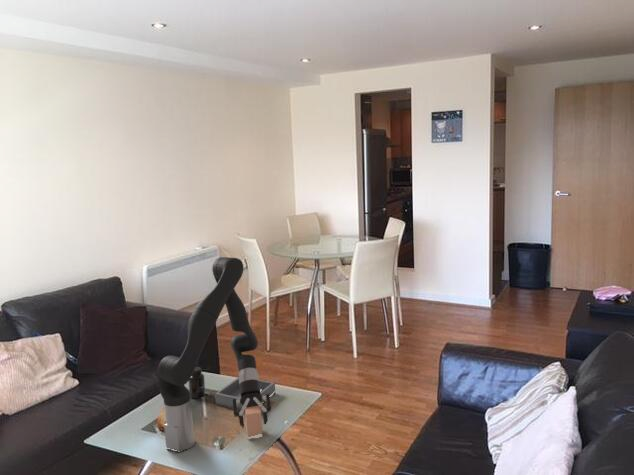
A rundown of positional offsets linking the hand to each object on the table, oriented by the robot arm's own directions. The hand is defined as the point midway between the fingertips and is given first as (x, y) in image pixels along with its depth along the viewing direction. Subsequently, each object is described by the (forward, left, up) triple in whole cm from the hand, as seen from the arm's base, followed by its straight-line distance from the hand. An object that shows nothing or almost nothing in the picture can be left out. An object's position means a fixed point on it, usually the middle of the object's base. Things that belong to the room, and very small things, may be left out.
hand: (254, 425), depth 192 cm
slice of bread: (-1, +39, -5) cm, 40 cm away
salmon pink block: (+1, +1, -5) cm, 5 cm away
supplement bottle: (+18, +42, -5) cm, 46 cm away
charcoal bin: (+23, +20, -5) cm, 31 cm away
